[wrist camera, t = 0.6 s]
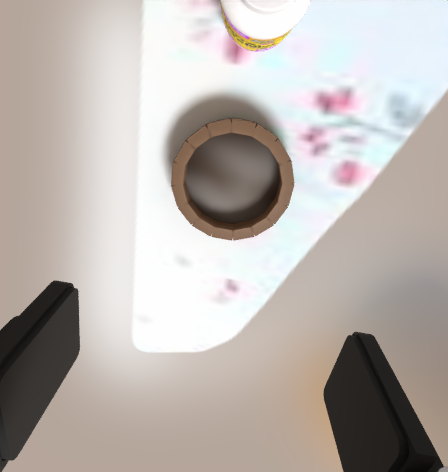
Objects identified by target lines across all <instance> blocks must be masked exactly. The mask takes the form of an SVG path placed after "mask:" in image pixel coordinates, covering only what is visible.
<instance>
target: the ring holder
mask: <svg viewBox="0 0 448 472" xmlns="http://www.w3.org/2000/svg"><path fill="white" fill-rule="evenodd" d="M293 183H294V177H293V169H292V162H291V160H290V157H289V155H288V154H287V152H286V151H285V149H284V147H283V146H282V144H281V142H280V141H279V139H278V138H277V137H276V136H275V135H274V134H272V133H271V132H269V131H268V130H267V129H265V128H264V127H262V126H261V125H259V124H258V123H255V122H252V121H248V120H244V119H236V118H232V119H231V118H228V119H223V120H219V121H215V122H211V123H208V124H206V125H205V126H203V127H202V128H201V129H199V130H198V131H197V132H195V133H194V134H193V135H192V136H190V137H189V138H188V139H187V140H186V141H185V142H184V144H183V146H182V148H181V149H180V151H179V153H178V155H177V156H176V158H175V160H174V162H173V172H172V181H171V185H172V186H171V187H172V190H173V194H174V197H175V201H176V204H177V207H178V206H179V207H178V209H179V210H180V211H181V212H182V214H183V215H184V216H185V218H186V219H187V220H188V221H189V223H190V224H193V225H192V226H194V227H195V228H197V229H199V230H200V231H202V232H204V233H205V234H207V235H209V236H211V234H212V237H215V238H221V239H226V240H232V238H233V240H239V239H244V238H250V237H254V235H255V236H257V235H258V234H260V233H262V232H263V231H265V230H267V229H268V228H270V227H272V226H273V223H274V224H275V223H276V222H277V221H278V219H279V218H280V217H281V215H282V214H283V213H284V212H285V210H286V209H287V208H288V207H287V206H289V202H290V199H291V195H292V191H293V188H294V184H293Z"/></svg>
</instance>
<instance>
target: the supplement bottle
mask: <svg viewBox="0 0 448 472" xmlns="http://www.w3.org/2000/svg"><path fill="white" fill-rule="evenodd" d="M220 1H221V7H222V13H223V19H224V23H225V27H226V29H227V32H228V34H229V36H230V37H231V39H232V40H233V41H234V42H235V43H236V44H237V45H238V46H240V47H241V48H243V49H245V50H248V51H252V52H262V51H266V50H269V49H271V48H273V47H275V46H276V45H278V44H279V43H280V42H281V41H282V40H283V39H284V38H285V37H286V36H287V34H288V33H289V32H290V31H291V30H292V29H293V28H294V27H295V25H296V24H297V23H298V22H299V21H300V20H301V18H302V17H303V15H304V14H305V12H306V11H307V9H308V7H309V4H310V2H311V0H220Z"/></svg>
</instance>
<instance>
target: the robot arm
mask: <svg viewBox="0 0 448 472" xmlns="http://www.w3.org/2000/svg"><path fill="white" fill-rule="evenodd" d="M79 350H80V336H79V301H78V289H76V288H74V286H73V284H72V283H67V282H61V281H53V282H51V283H50V285H48V286H47V287H46V289H45V290H44V291H43V292H42V293H41V294H40V295H39V296H38V297H37V298H36V299H35V300H34V301H33V302H32V303H31V304H30V305H29V306H28V307H27V308H26V309H25V310H24V311H23V312H22V313H21V315H19V316H16V317H14V318H13V319H11V320H10V321H9V322H8V323H7V324H6V325H5V326H4V327H3V328H2V329H1V330H0V472H2V470H3V468H4V467H5V466H6V464H7V462H8V461H9V460H14V459H15V458H16V457H17V456H18V454H19V453H20V451H21V450H22V448H23V446H24V445H25V443H26V441H27V440H28V438H29V436H30V435H31V433H32V431H33V430H34V428H35V426H36V425H37V423H38V421H39V420H40V418H41V416H42V415H43V413H44V411H45V410H46V408H47V406H48V405H49V403H50V402H51V400H52V398H53V397H54V395H55V393H56V392H57V390H58V388H59V387H60V385H61V383H62V382H63V380H64V378H65V377H66V375H67V373H68V372H69V370H70V368H71V367H72V365H73V363H74V362H75V360H76V358H77V356H78V354H79ZM324 401H325V404H326V408H327V412H328V415H329V419H330V423H331V427H332V431H333V434H334V438H335V441H336V445H337V449H338V453H339V456H340V460H341V464H342V468H343V471H344V472H448V467H444V466H443V464H442V462H441V460H440V458H439V456H438V454H437V452H436V450H435V448H434V447H433V445H432V443H431V441H430V439H429V437H428V435H427V434H426V432H425V430H424V428H423V426H422V424H421V423H420V421H419V419H418V417H417V415H416V413H415V412H414V409H413V408H412V406H411V404H410V402H409V400H408V398H407V396H406V394H405V393H404V391H403V389H402V387H401V385H400V383H399V381H398V380H397V378H396V376H395V374H394V372H393V370H392V368H391V367H390V365H389V363H388V361H387V359H386V358H385V355H384V354H383V352H382V350H381V349H380V346H379V344H378V342H377V341H376V339H375V337H374V336H373V335H371V334H365V333H360V332H354V333H353V334H352V335H349V336H348V337H347V339H346V341H345V343H344V345H343V348H342V350H341V352H340V354H339V356H338V359H337V361H336V363H335V365H334V368H333V370H332V372H331V374H330V377H329V379H328V381H327V383H326V386H325V388H324Z"/></svg>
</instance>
